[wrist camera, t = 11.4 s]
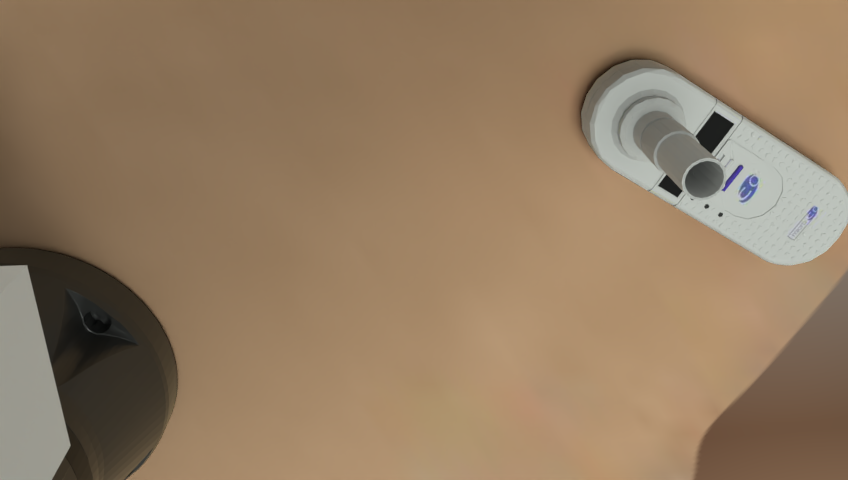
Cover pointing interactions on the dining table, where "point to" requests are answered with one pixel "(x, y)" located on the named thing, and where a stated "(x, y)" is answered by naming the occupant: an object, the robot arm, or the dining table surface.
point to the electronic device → (713, 163)
